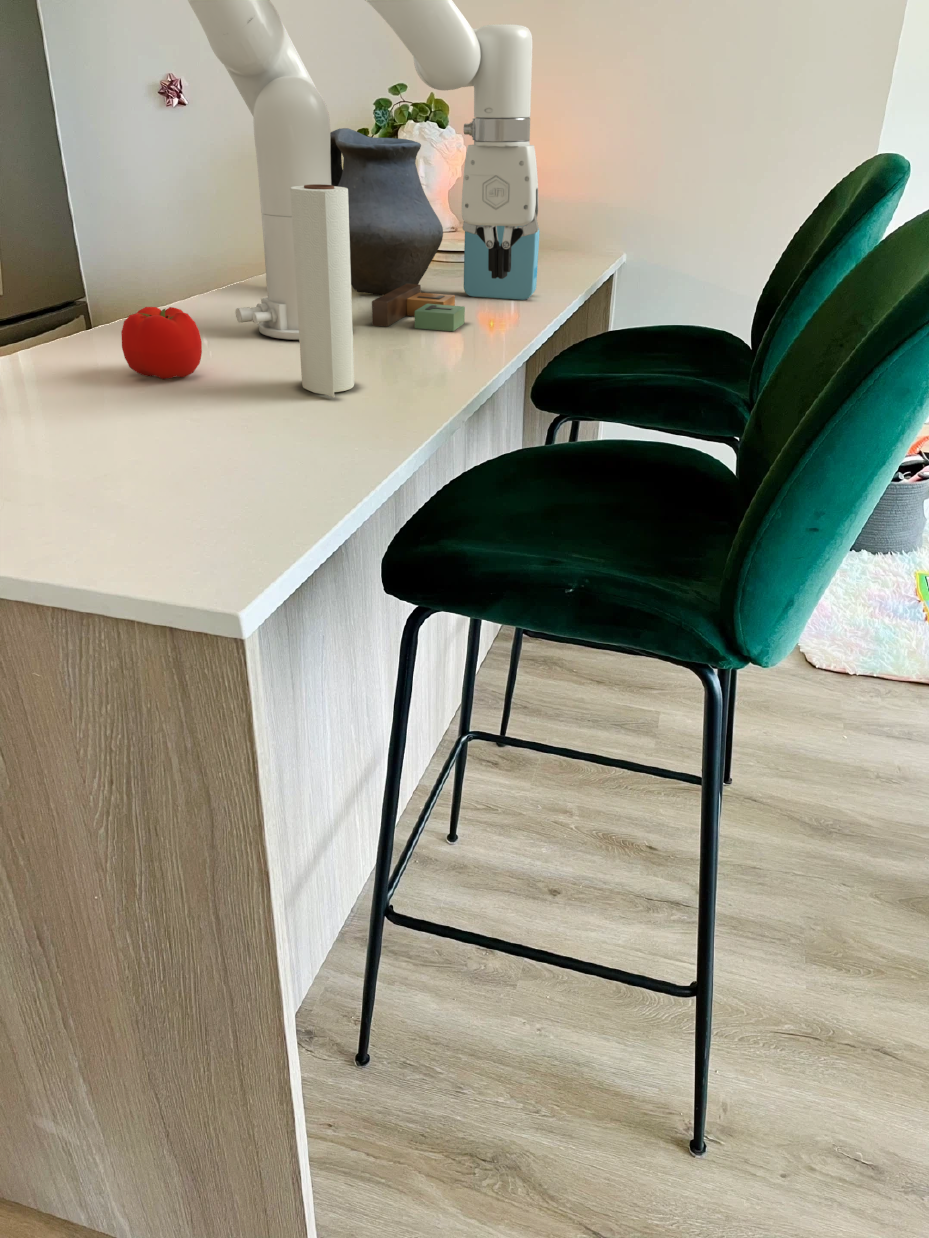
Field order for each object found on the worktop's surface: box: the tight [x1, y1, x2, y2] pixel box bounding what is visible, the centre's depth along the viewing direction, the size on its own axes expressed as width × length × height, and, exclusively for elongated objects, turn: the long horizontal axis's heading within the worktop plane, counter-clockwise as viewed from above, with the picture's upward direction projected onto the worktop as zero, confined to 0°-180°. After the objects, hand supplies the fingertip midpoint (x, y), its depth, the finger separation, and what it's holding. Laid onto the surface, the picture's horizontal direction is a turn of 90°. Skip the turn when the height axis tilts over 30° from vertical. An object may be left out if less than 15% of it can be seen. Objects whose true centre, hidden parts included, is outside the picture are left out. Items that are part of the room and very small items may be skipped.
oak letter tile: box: [406, 292, 456, 317], centre depth 148 cm, size 6×6×3 cm
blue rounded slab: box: [463, 225, 541, 301], centre depth 160 cm, size 12×4×12 cm, turn 78°
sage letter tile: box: [414, 304, 466, 332], centre depth 140 cm, size 6×6×3 cm
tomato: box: [120, 306, 203, 380], centre depth 111 cm, size 9×9×8 cm
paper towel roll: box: [290, 184, 355, 398], centre depth 104 cm, size 7×6×21 cm
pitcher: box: [330, 127, 444, 296], centre depth 159 cm, size 21×22×25 cm
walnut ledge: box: [371, 283, 422, 327], centre depth 146 cm, size 16×2×4 cm, turn 165°
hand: (499, 277), depth 135 cm, fingers closed
